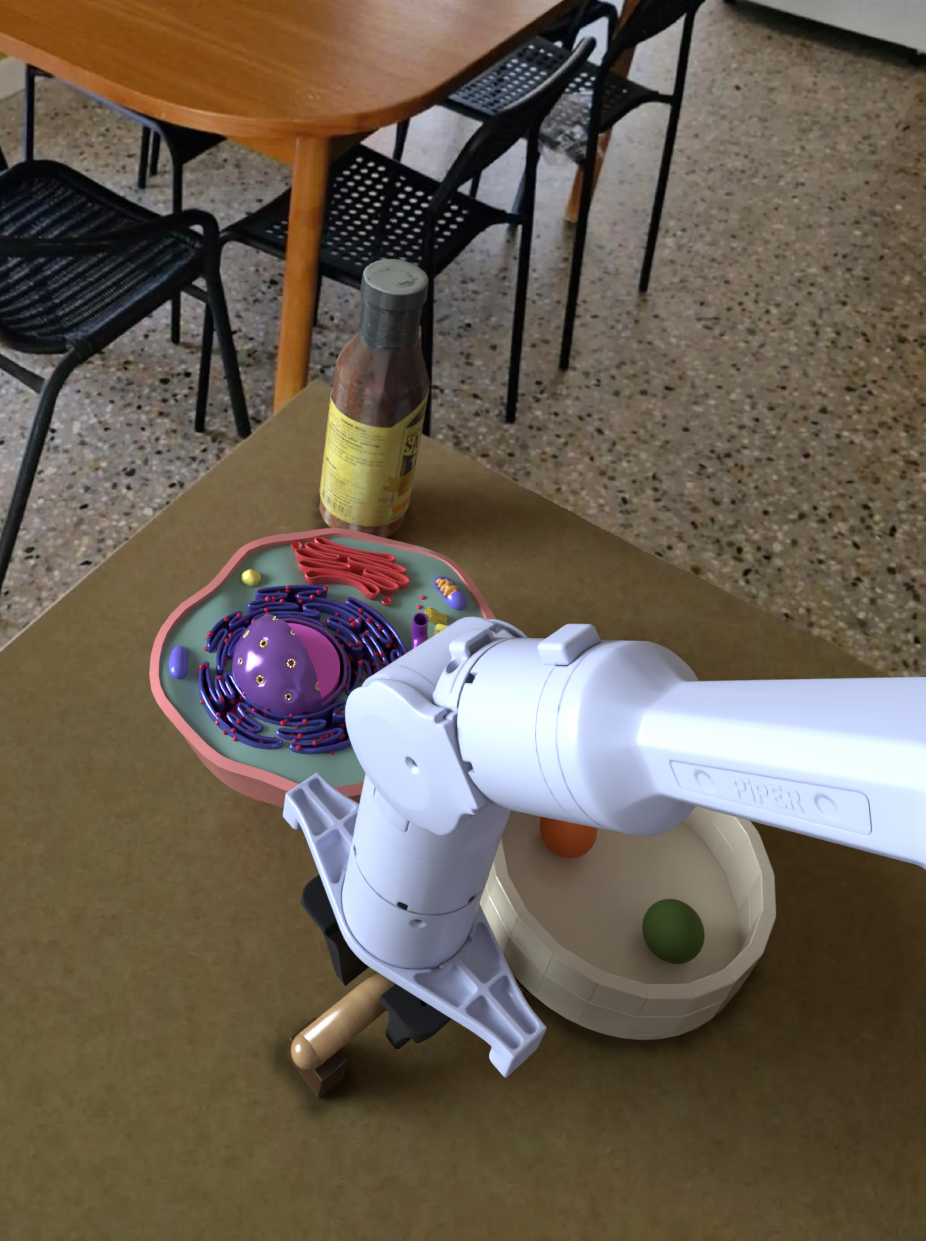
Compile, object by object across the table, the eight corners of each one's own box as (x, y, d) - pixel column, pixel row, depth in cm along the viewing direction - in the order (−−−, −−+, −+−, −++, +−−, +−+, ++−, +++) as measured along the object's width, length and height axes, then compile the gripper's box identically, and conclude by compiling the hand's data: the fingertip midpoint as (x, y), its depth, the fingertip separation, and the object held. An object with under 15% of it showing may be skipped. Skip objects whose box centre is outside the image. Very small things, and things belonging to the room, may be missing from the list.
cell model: (542, 768, 72) (586, 644, 65) (247, 940, 63) (261, 817, 56) (372, 573, 83) (394, 448, 76) (99, 697, 74) (95, 568, 67)
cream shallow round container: (803, 926, 66) (832, 882, 63) (630, 1105, 59) (655, 1064, 56) (593, 736, 74) (611, 689, 71) (418, 871, 67) (431, 825, 64)
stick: (451, 916, 63) (457, 900, 62) (474, 941, 62) (480, 925, 61) (282, 1054, 57) (284, 1039, 56) (304, 1084, 56) (307, 1069, 55)
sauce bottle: (408, 549, 85) (455, 315, 72) (317, 544, 85) (348, 308, 72) (402, 482, 90) (444, 252, 78) (315, 477, 90) (344, 246, 77)
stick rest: (430, 937, 64) (436, 918, 63) (463, 975, 63) (470, 956, 61) (285, 1056, 59) (288, 1037, 58) (317, 1100, 58) (322, 1082, 57)
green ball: (706, 951, 64) (724, 922, 62) (670, 987, 62) (687, 958, 60) (660, 906, 66) (675, 876, 64) (623, 939, 64) (638, 910, 62)
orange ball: (601, 848, 68) (614, 818, 66) (564, 879, 66) (577, 849, 65) (559, 808, 70) (571, 778, 68) (523, 837, 68) (534, 807, 66)
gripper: (622, 931, 49) (550, 1075, 58) (376, 683, 58) (345, 840, 66) (498, 1043, 46) (441, 1179, 54) (255, 761, 54) (239, 917, 63)
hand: (381, 999), depth 60 cm, fingers open, 3 cm apart
